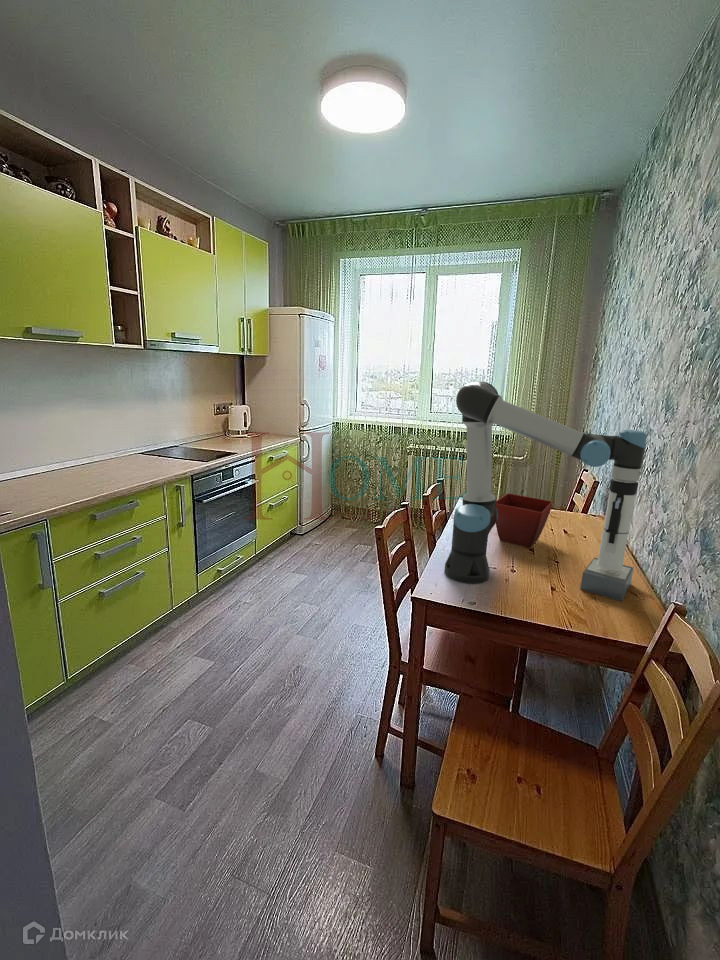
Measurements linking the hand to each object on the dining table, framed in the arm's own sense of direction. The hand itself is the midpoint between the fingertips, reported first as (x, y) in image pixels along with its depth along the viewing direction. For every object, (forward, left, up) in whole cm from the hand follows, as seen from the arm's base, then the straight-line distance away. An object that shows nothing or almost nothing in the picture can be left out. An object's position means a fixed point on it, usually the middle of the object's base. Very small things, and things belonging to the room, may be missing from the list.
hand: (612, 548), depth 144 cm
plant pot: (+22, +37, -14) cm, 45 cm away
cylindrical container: (0, 0, -6) cm, 6 cm away
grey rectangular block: (0, 0, -13) cm, 13 cm away
